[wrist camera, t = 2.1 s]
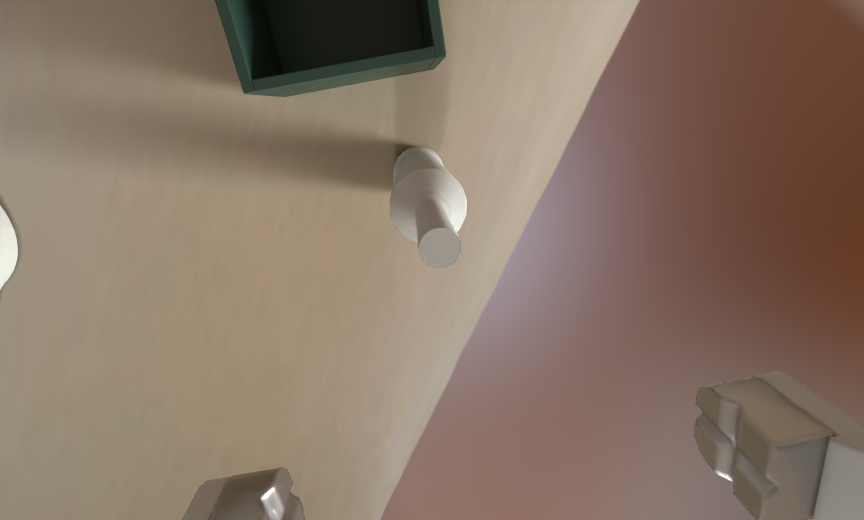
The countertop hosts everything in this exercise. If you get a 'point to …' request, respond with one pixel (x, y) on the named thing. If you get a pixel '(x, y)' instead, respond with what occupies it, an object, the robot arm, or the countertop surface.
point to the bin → (329, 42)
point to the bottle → (428, 206)
